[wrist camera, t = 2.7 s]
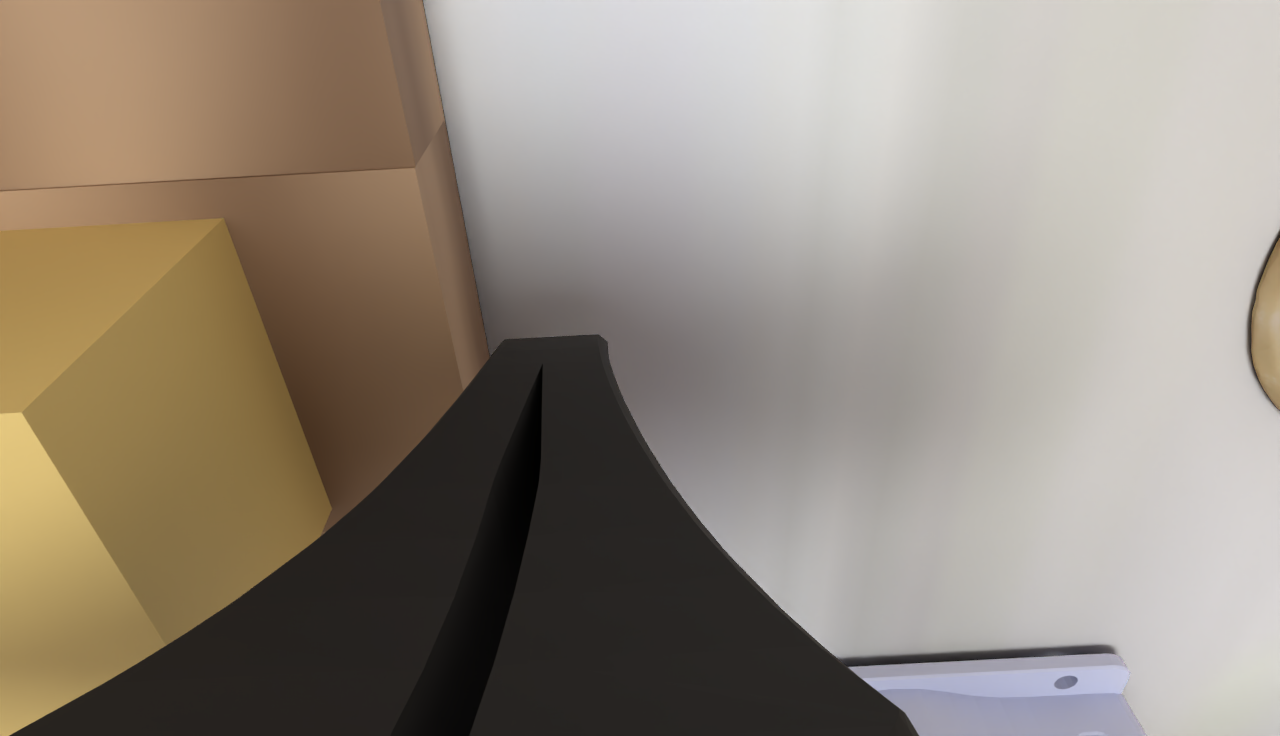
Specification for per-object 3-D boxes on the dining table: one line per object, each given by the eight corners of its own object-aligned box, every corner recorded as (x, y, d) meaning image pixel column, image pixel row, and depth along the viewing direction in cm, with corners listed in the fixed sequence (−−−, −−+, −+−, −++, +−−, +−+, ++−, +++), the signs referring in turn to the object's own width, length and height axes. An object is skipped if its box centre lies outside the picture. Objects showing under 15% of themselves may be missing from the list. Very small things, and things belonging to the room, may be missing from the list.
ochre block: (223, 218, 10) (20, 412, 6) (331, 509, 13) (230, 748, 9) (-174, 240, 10) (-578, 445, 6) (23, 524, 13) (-189, 770, 9)
